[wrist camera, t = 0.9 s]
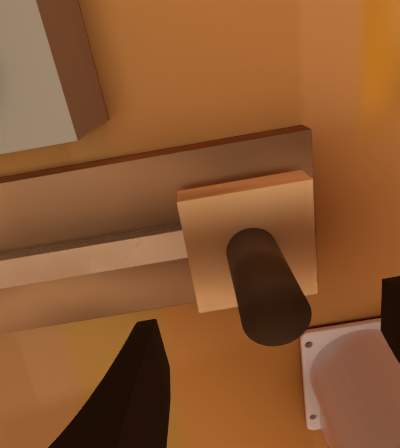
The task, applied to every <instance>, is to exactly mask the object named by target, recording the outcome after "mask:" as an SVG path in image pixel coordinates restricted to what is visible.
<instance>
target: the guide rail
mask: <svg viewBox="0 0 400 448" xmlns="http://www.w3.org/2000/svg"><path fill="white" fill-rule="evenodd" d="M182 258H188V256H187V251H186V246H185V241H184V236H183V231H182V226H181V222H175V223H169V224H163V225H157V226H151V227H145V228H140V229H134V230H128V231H122V232H116V233H110V234H104V235H98V236H92V237H86V238H80V239H74V240H68V241H62V242H57V243H51V244H45V245H39V246H33V247H27V248H21V249H15V250H9V251H3V252H0V289H1V288H7V287H13V286H20V285H26V284H32V283H38V282H44V281H50V280H56V279H62V278H68V277H74V276H80V275H86V274H92V273H98V272H104V271H110V270H116V269H122V268H128V267H134V266H140V265H146V264H152V263H158V262H164V261H170V260H176V259H182Z"/></svg>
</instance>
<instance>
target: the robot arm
mask: <svg viewBox="0 0 400 448" xmlns="http://www.w3.org/2000/svg"><path fill="white" fill-rule="evenodd" d="M307 342H310V343H308V344H306V343H307ZM300 350H301V364H302V378H303V392H304V406H305V420H306V425H307V428H308V429H309V430H318V429H321V430H322V432H323V435H324V437H325V440H326V443H327V445H328V448H400V276H397V277H392V278H386V279H382V301H381V318H378V319H371V320H365V321H359V322H352V323H346V324H340V325H333V326H327V327H321V328H315V329H308V330H306V331H305V332H304V333H303V334H302V335H301V336H300ZM169 411H170V366H169V363H168V359H167V356H166V352H165V349H164V345H163V342H162V338H161V334H160V331H159V327H158V324H157V320H156V319H152V320H146V321H140V322H137V323H136V325H135V326H134V328H133V330H132V331H131V333H130V335H129V337H128V338H127V340H126V342H125V344H124V345H123V347H122V349H121V350H120V352H119V354H118V355H117V357H116V359H115V360H114V362H113V363H112V365H111V367H110V368H109V370H108V371H107V373H106V375H105V376H104V378H103V379H102V381H101V382H100V383H99V385H98V386H97V388H96V389H95V391H94V392H93V393H92V395H91V396H90V398H89V399H88V401H87V402H86V403H85V405H84V406H83V407H82V409H81V410H80V411H79V412H78V414H77V415H76V416H75V417H74V419H73V420H72V421H71V422H70V424H69V425H68V426H67V427H66V428H65V430H64V431H63V432H62V433H61V434H60V435H59V437H58V438H57V439H56V440H55V441H54V442H53V443H52V444H51V445H50V446H49V447H48V448H166V446H167V434H168V423H169Z"/></svg>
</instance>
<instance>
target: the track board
mask: <svg viewBox="0 0 400 448" xmlns="http://www.w3.org/2000/svg"><path fill="white" fill-rule="evenodd" d="M298 170H303V171H304V172H305V173H306V174H307V175H308V176H310V177H311V178H312V179H313V157H312V134H311V129H310V128H307V127H305V126H303V125H299V126H294V127H288V128H282V129H277V130H271V131H265V132H259V133H254V134H248V135H242V136H236V137H231V138H225V139H219V140H214V141H208V142H202V143H196V144H191V145H185V146H179V147H173V148H168V149H162V150H156V151H151V152H145V153H139V154H133V155H128V156H122V157H116V158H110V159H105V160H99V161H93V162H88V163H82V164H76V165H70V166H65V167H59V168H53V169H47V170H42V171H36V172H30V173H25V174H19V175H13V176H7V177H2V178H0V252H3V251H9V250H15V249H21V248H27V247H33V246H39V245H45V244H51V243H57V242H62V241H68V240H74V239H80V238H86V237H92V236H98V235H104V234H110V233H116V232H122V231H128V230H134V229H140V228H145V227H151V226H157V225H163V224H169V223H175V222H181V221H180V216H179V211H178V207H177V191H181V190H187V189H193V188H198V187H204V186H210V185H216V184H222V183H228V182H233V181H239V180H245V179H251V178H257V177H263V176H268V175H274V174H280V173H286V172H292V171H298ZM313 196H314V181H313ZM314 219H315V204H314ZM315 242H316V228H315ZM316 265H317V251H316ZM317 282H318V275H317ZM194 302H197V300H196V295H195V290H194V285H193V280H192V275H191V271H190V266H189V261H188V258H182V259H176V260H170V261H164V262H158V263H152V264H146V265H140V266H134V267H128V268H122V269H116V270H110V271H104V272H98V273H92V274H86V275H80V276H74V277H68V278H62V279H56V280H50V281H44V282H38V283H32V284H26V285H20V286H13V287H7V288H1V289H0V334H3V333H9V332H15V331H21V330H27V329H33V328H40V327H46V326H52V325H58V324H64V323H70V322H77V321H83V320H89V319H95V318H101V317H107V316H114V315H120V314H126V313H132V312H138V311H144V310H151V309H157V308H163V307H169V306H175V305H181V304H188V303H194Z"/></svg>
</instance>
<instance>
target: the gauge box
mask: <svg viewBox="0 0 400 448" xmlns="http://www.w3.org/2000/svg"><path fill="white" fill-rule="evenodd" d="M107 120H109V119H108V115H107V111H106V107H105V103H104V99H103V96H102V92H101V88H100V84H99V80H98V76H97V72H96V68H95V65H94V61H93V57H92V53H91V49H90V45H89V41H88V37H87V33H86V30H85V26H84V22H83V18H82V14H81V10H80V6H79V2H78V0H0V154H5V153H11V152H16V151H22V150H28V149H33V148H39V147H45V146H50V145H56V144H62V143H67V142H73V141H78V140H79V139H81V138H82V137H84V136H85V135H87V134H88V133H90V132H91V131H93V130H94V129H95V128H97V127H98V126H100V125H101V124H103V123H104V122H106V121H107Z"/></svg>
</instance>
